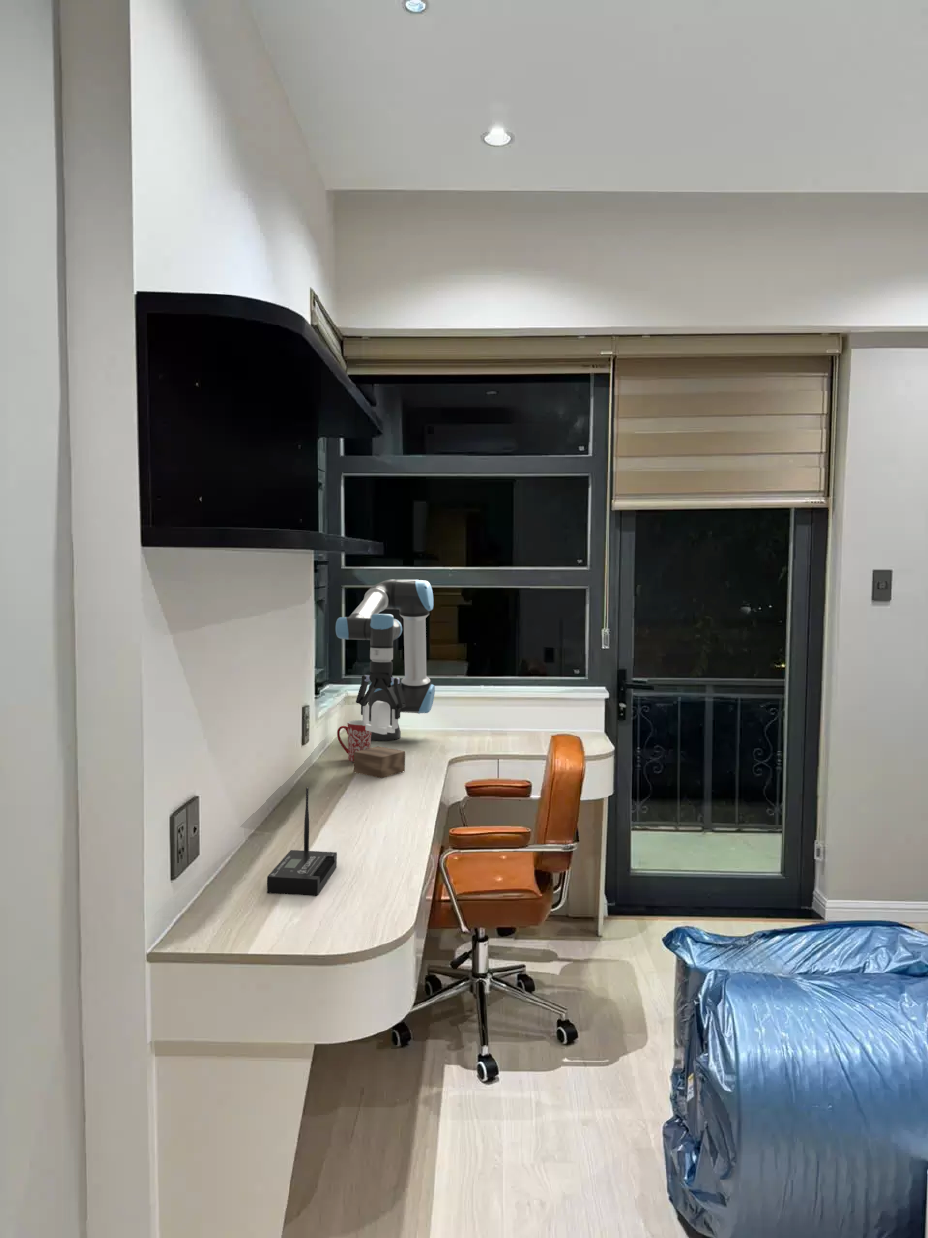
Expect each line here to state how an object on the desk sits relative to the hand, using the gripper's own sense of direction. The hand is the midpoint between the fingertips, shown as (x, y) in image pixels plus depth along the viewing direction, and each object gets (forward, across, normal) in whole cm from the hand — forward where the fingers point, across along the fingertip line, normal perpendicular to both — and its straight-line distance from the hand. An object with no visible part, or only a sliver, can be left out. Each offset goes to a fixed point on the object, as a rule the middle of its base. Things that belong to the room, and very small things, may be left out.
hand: (380, 726), depth 262 cm
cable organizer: (+2, 0, 0) cm, 2 cm away
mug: (+15, -17, +10) cm, 25 cm away
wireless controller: (+16, +36, -86) cm, 95 cm away
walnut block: (+15, 0, 0) cm, 15 cm away
